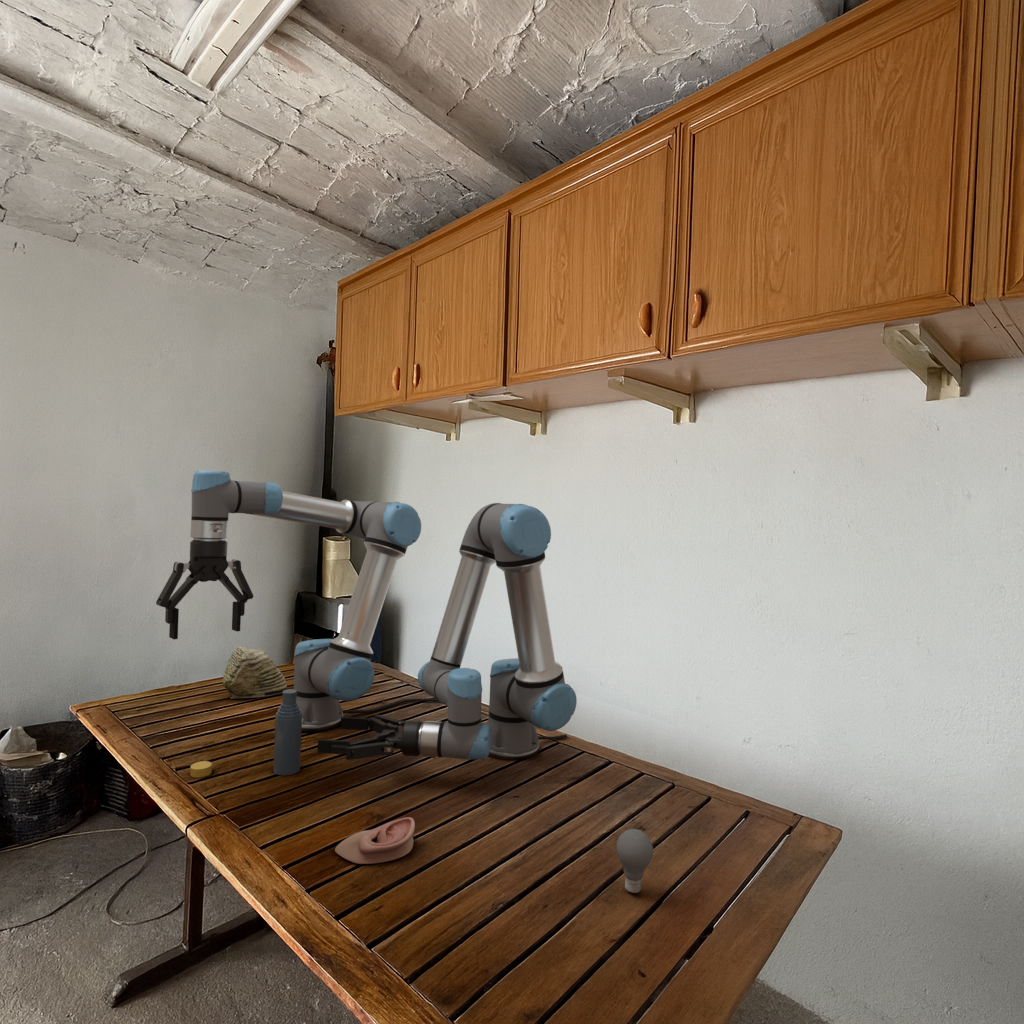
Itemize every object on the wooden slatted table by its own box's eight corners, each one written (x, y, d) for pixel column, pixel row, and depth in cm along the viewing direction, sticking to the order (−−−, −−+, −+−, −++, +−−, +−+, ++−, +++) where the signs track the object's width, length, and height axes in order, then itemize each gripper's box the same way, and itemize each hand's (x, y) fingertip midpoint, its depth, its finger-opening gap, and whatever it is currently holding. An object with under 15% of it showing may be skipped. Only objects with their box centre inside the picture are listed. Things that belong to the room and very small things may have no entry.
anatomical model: (327, 836, 111) (356, 806, 122) (326, 858, 111) (355, 826, 122) (398, 848, 108) (421, 815, 119) (397, 871, 108) (420, 836, 119)
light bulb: (610, 879, 108) (613, 822, 108) (644, 879, 109) (647, 822, 109) (619, 902, 102) (622, 840, 102) (655, 901, 103) (658, 840, 103)
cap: (191, 779, 139) (191, 770, 139) (189, 771, 143) (189, 763, 143) (212, 775, 142) (213, 766, 142) (210, 767, 145) (210, 759, 145)
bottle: (267, 770, 145) (270, 691, 145) (289, 762, 150) (292, 685, 150) (284, 777, 142) (287, 696, 142) (305, 769, 147) (308, 690, 146)
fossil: (218, 695, 195) (220, 647, 195) (278, 685, 208) (279, 640, 207) (228, 703, 189) (230, 653, 188) (289, 692, 201) (290, 645, 201)
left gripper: (154, 541, 130) (151, 645, 130) (270, 539, 148) (267, 630, 148) (141, 539, 135) (138, 638, 135) (255, 537, 153) (252, 624, 153)
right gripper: (407, 780, 130) (307, 774, 132) (433, 733, 155) (349, 729, 157) (407, 744, 130) (307, 739, 132) (434, 703, 155) (349, 699, 157)
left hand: (205, 634), depth 142 cm, fingers open, 13 cm apart
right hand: (330, 733), depth 144 cm, fingers open, 13 cm apart
